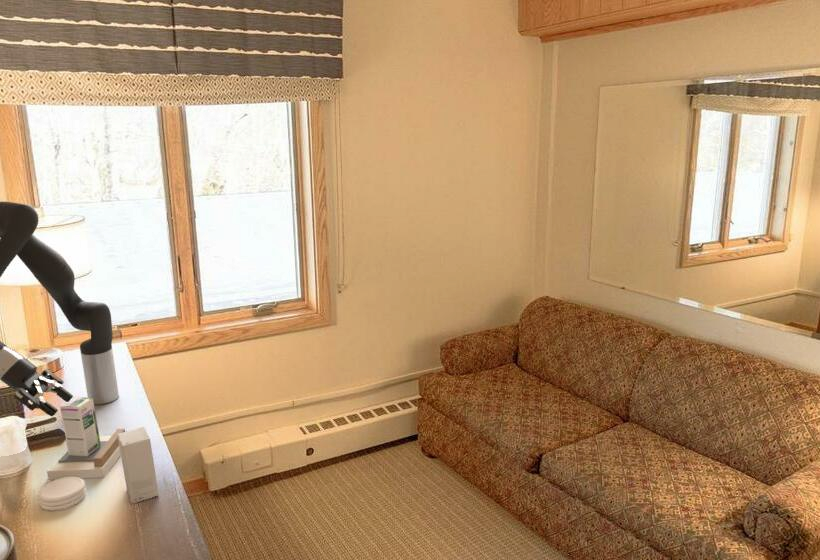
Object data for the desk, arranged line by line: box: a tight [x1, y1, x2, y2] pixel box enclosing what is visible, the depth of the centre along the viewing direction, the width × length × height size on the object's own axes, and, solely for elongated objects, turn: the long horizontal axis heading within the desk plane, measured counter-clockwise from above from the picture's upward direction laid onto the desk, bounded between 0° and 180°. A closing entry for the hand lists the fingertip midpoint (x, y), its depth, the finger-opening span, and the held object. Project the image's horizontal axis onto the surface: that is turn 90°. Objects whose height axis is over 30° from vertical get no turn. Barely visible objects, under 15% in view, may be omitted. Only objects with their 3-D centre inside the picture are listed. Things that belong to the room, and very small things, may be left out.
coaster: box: [38, 477, 87, 512], centre depth 154 cm, size 10×10×4 cm
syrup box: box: [59, 396, 101, 457], centre depth 169 cm, size 6×6×14 cm
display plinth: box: [46, 428, 126, 481], centre depth 172 cm, size 18×14×5 cm
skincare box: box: [118, 426, 160, 504], centre depth 155 cm, size 8×7×16 cm
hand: (63, 406), depth 168 cm, fingers open, 8 cm apart
